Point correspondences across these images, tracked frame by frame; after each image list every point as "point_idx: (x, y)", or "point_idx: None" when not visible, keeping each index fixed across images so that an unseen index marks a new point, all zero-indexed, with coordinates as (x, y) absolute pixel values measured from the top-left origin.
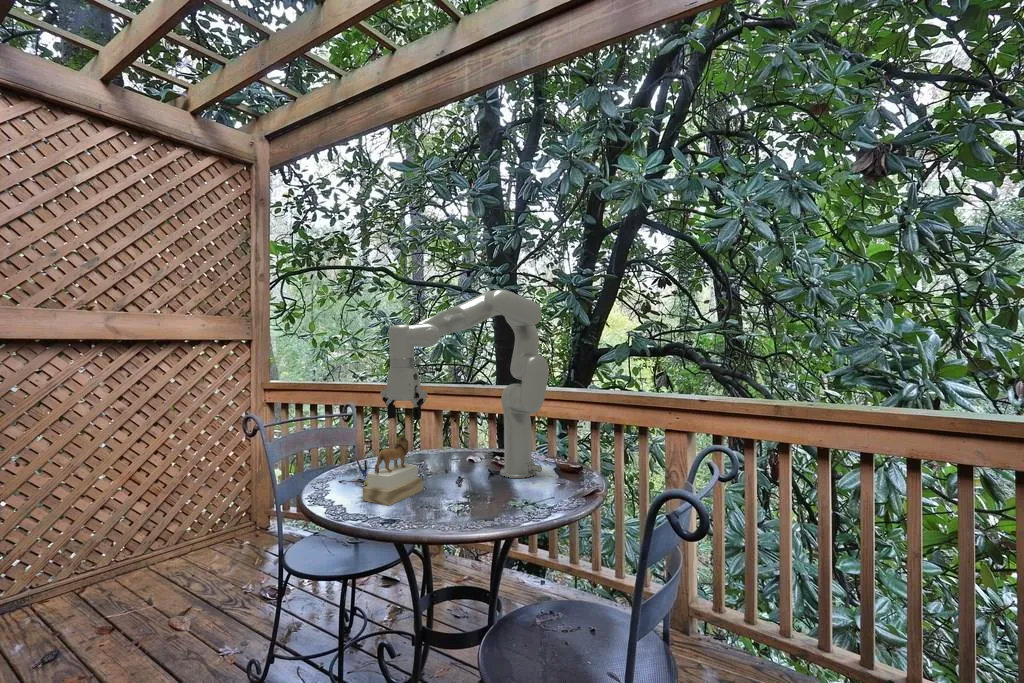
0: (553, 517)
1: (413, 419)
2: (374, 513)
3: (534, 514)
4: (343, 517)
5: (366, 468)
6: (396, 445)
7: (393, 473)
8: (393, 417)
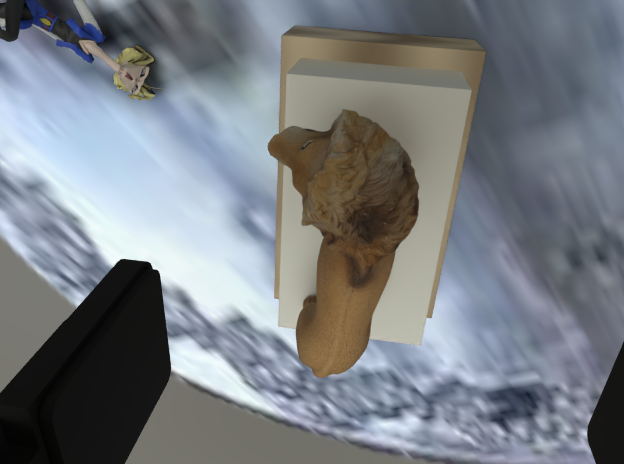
0: None
1: (596, 443)
2: (418, 359)
3: None
4: (339, 405)
5: (23, 4)
6: (356, 274)
7: (411, 292)
8: (163, 312)
